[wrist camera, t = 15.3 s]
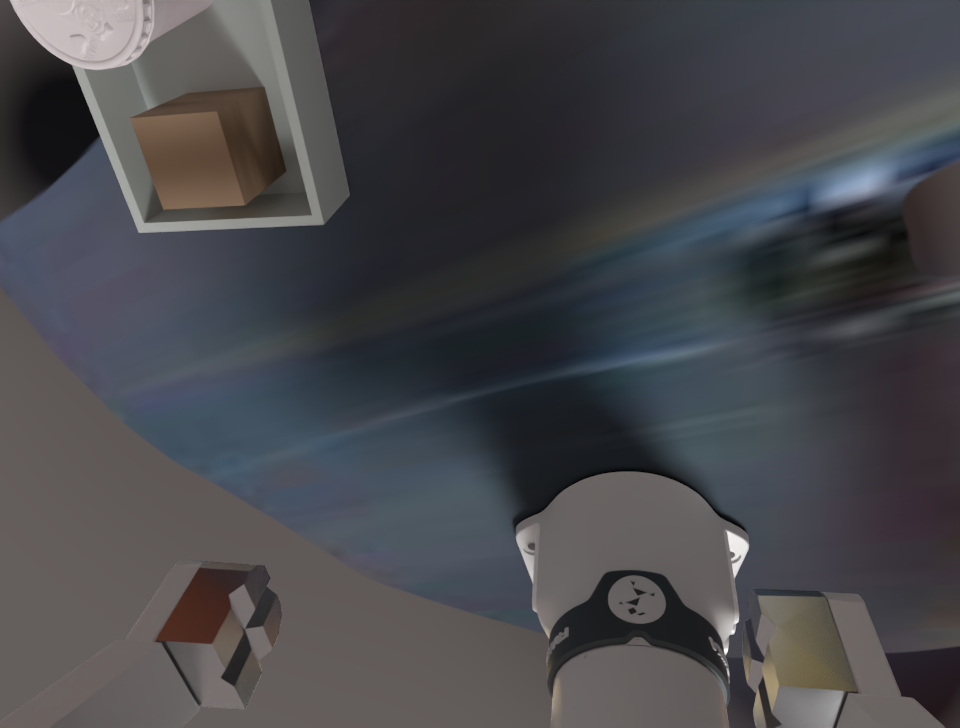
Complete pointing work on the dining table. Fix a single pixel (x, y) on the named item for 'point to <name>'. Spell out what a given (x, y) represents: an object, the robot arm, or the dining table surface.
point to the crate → (223, 66)
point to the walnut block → (210, 148)
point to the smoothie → (102, 27)
